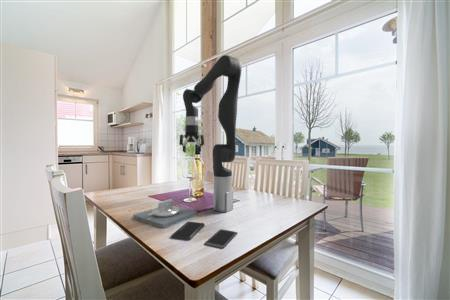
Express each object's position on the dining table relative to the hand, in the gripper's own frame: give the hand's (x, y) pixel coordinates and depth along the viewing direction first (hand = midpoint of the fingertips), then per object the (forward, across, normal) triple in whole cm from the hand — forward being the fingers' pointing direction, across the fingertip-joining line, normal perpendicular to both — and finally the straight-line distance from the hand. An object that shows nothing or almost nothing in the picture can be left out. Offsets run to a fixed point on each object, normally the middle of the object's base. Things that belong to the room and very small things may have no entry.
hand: (191, 152), depth 127 cm
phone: (+28, -12, +44) cm, 53 cm away
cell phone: (+28, -26, +48) cm, 61 cm away
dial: (+26, +4, +31) cm, 41 cm away
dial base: (+28, +3, +30) cm, 41 cm away
